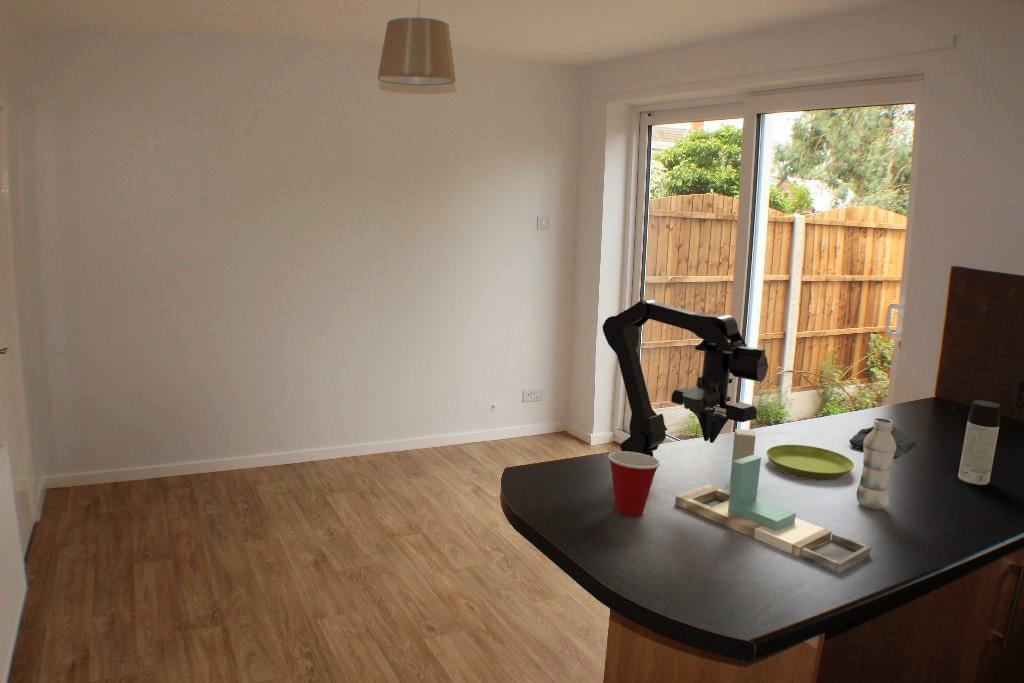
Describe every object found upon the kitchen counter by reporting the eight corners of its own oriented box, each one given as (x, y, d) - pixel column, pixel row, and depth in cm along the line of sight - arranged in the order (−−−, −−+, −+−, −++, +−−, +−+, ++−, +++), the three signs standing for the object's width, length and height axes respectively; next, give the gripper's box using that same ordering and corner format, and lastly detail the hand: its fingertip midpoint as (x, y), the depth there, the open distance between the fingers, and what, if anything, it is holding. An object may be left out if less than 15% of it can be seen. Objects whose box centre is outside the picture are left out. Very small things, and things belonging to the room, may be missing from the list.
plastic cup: (666, 512, 156) (670, 458, 154) (636, 526, 149) (640, 470, 147) (624, 496, 164) (628, 445, 162) (593, 509, 156) (597, 455, 154)
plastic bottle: (874, 515, 160) (887, 426, 156) (848, 503, 166) (860, 417, 162) (894, 510, 163) (907, 423, 159) (867, 499, 169) (879, 415, 165)
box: (750, 489, 172) (756, 436, 169) (731, 487, 172) (736, 434, 170) (748, 481, 177) (754, 429, 174) (729, 479, 178) (734, 427, 175)
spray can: (991, 481, 184) (1005, 403, 181) (985, 488, 179) (999, 408, 176) (961, 473, 189) (974, 398, 185) (954, 480, 184) (967, 402, 180)
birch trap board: (675, 504, 161) (675, 495, 160) (708, 492, 168) (709, 484, 168) (838, 573, 133) (840, 563, 133) (869, 555, 141) (871, 546, 140)
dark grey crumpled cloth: (838, 447, 207) (840, 431, 207) (863, 431, 224) (865, 416, 223) (897, 461, 197) (899, 444, 197) (919, 444, 214) (921, 428, 213)
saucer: (798, 451, 202) (799, 440, 201) (869, 476, 185) (871, 464, 184) (748, 463, 190) (749, 451, 190) (819, 490, 174) (820, 477, 173)
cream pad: (754, 537, 146) (755, 528, 146) (786, 523, 154) (787, 514, 153) (791, 553, 140) (792, 544, 140) (823, 537, 148) (824, 528, 147)
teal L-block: (727, 511, 153) (733, 461, 151) (747, 504, 158) (752, 454, 156) (775, 530, 145) (782, 477, 143) (794, 522, 150) (801, 470, 148)
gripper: (658, 368, 162) (652, 436, 165) (731, 386, 148) (723, 461, 151) (689, 363, 169) (683, 428, 172) (762, 380, 155) (754, 451, 158)
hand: (709, 441), depth 163 cm, fingers closed
